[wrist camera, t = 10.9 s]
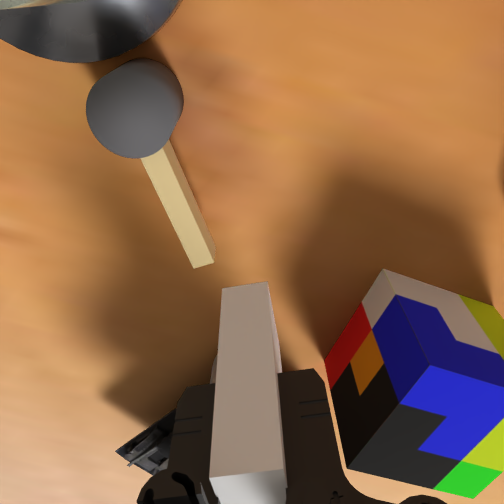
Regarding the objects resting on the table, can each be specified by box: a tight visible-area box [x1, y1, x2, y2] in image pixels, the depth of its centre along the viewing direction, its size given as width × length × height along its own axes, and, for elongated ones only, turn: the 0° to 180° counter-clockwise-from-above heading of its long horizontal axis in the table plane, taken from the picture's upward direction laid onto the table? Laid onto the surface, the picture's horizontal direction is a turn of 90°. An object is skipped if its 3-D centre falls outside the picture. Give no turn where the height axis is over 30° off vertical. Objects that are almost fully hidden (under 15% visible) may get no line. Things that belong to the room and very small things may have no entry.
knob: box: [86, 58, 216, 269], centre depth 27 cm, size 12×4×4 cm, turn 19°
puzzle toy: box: [324, 269, 504, 499], centre depth 32 cm, size 10×10×10 cm
